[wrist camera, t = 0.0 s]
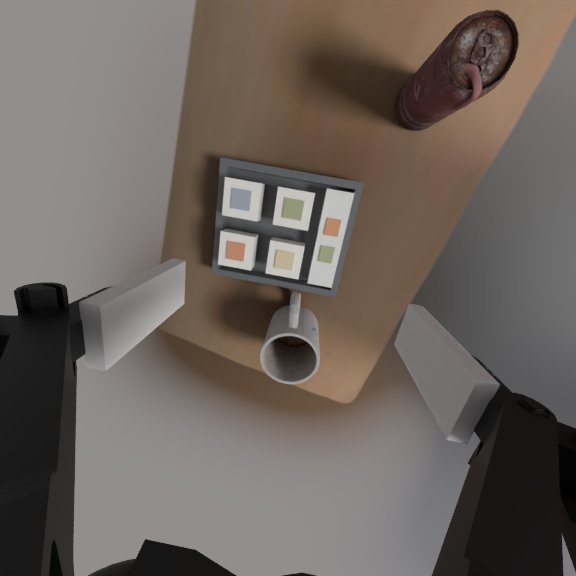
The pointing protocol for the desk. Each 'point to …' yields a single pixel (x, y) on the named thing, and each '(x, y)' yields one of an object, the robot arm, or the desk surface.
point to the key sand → (285, 258)
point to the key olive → (293, 208)
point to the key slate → (243, 199)
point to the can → (459, 69)
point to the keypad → (318, 239)
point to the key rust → (237, 249)
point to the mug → (291, 344)
